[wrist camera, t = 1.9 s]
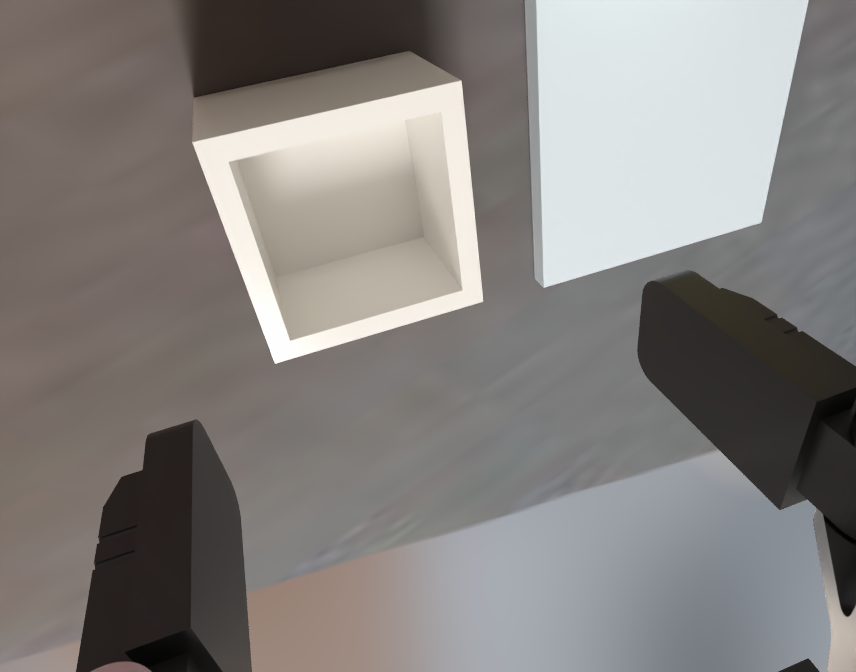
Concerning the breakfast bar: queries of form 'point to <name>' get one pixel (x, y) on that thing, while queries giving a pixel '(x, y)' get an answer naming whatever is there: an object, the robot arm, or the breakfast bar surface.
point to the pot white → (344, 198)
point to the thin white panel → (651, 123)
